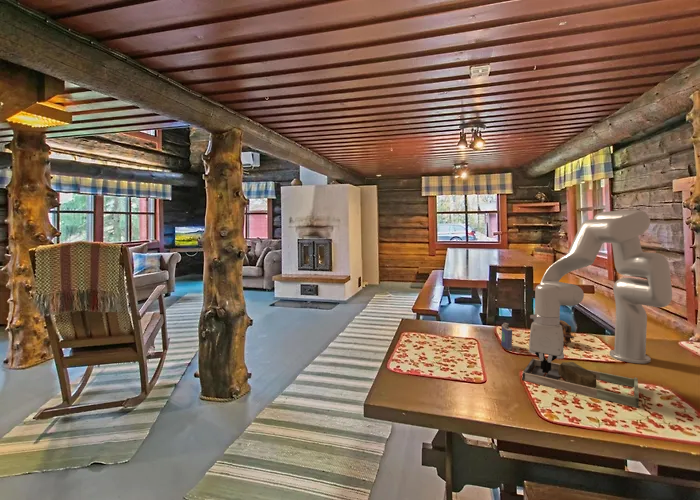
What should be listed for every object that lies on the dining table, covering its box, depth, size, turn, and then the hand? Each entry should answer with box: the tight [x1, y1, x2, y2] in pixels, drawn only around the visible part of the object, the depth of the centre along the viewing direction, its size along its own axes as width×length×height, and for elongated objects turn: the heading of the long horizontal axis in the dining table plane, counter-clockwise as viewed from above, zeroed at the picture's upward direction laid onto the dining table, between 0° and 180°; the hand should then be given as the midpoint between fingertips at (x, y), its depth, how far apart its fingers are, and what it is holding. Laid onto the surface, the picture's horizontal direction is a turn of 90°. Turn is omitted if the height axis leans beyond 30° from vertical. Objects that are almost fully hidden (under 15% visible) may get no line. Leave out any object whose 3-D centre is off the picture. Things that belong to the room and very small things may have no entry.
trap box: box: [521, 358, 640, 408], centre depth 115 cm, size 16×31×3 cm, turn 51°
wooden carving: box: [560, 319, 575, 345], centre depth 156 cm, size 16×5×10 cm, turn 10°
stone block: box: [558, 361, 598, 389], centre depth 115 cm, size 6×12×5 cm, turn 6°
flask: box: [500, 322, 513, 351], centre depth 151 cm, size 9×3×11 cm, turn 172°
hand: (545, 371), depth 121 cm, fingers closed
